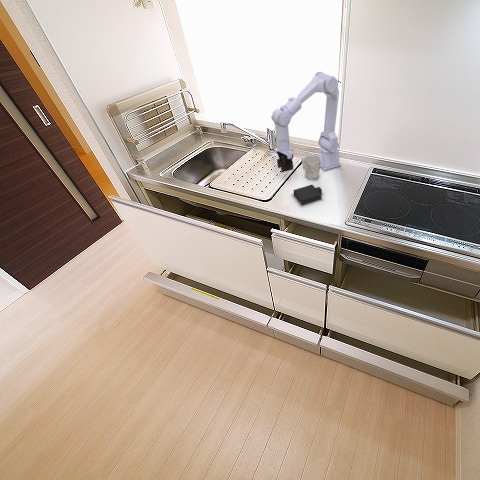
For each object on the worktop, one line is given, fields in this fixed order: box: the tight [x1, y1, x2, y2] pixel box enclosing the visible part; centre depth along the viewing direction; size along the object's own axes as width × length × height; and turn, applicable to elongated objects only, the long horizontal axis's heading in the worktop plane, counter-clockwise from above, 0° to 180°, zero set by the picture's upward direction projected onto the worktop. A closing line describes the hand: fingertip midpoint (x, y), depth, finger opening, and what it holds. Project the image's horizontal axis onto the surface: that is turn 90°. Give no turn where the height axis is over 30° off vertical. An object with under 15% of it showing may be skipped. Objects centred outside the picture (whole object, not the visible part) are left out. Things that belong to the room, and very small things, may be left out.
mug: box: [301, 154, 321, 181], centre depth 132 cm, size 11×8×10 cm
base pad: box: [293, 184, 323, 206], centre depth 121 cm, size 12×9×3 cm
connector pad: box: [276, 158, 294, 173], centre depth 125 cm, size 6×5×4 cm
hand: (285, 165), depth 126 cm, fingers closed on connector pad, 5 cm apart
